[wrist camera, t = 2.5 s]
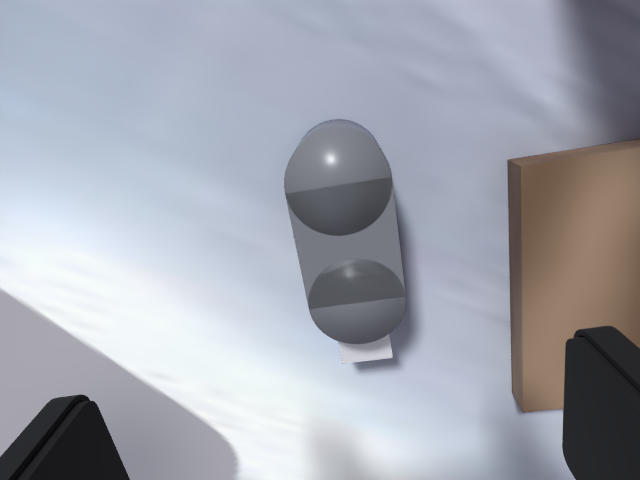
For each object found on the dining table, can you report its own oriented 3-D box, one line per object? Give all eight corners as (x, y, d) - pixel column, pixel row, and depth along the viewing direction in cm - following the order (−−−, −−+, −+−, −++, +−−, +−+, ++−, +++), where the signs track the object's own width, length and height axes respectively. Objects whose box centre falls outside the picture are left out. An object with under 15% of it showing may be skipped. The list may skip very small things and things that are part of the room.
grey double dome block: (376, 112, 19) (385, 121, 15) (402, 326, 23) (414, 376, 19) (287, 127, 19) (274, 140, 15) (327, 336, 23) (324, 386, 19)
